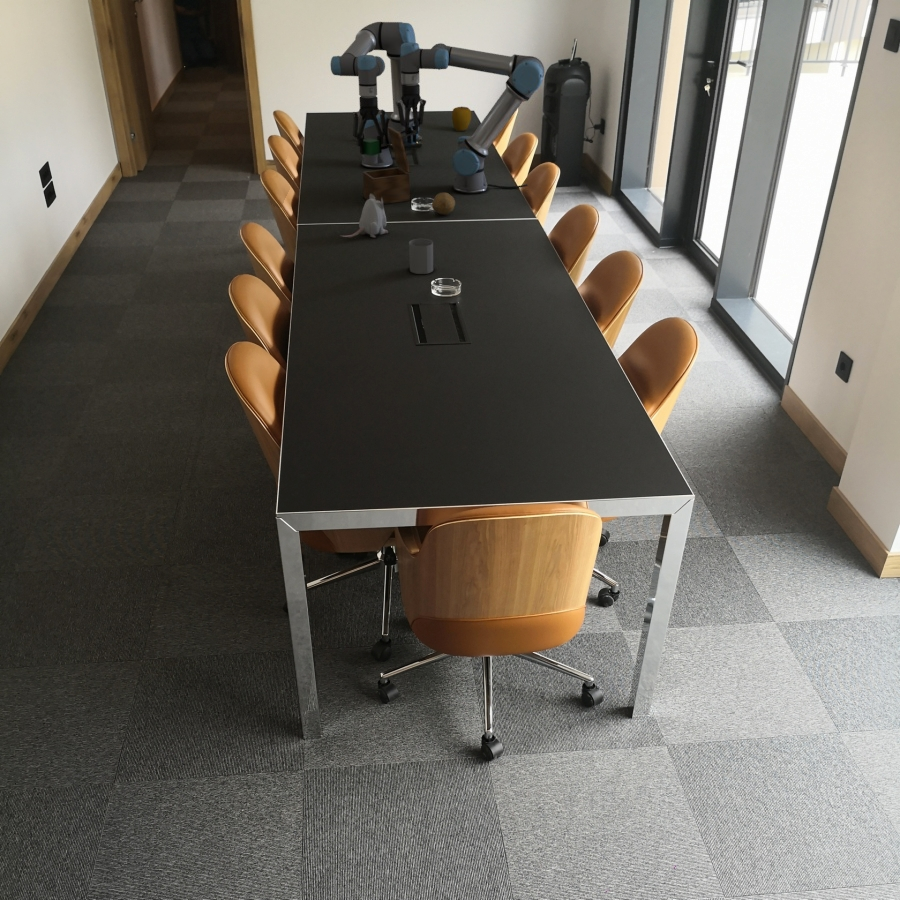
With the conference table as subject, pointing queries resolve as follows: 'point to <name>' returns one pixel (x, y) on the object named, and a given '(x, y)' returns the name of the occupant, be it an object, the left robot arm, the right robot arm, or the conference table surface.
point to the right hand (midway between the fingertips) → (412, 142)
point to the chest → (387, 185)
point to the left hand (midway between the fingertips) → (370, 153)
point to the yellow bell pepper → (461, 118)
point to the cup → (421, 256)
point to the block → (371, 147)
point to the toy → (372, 218)
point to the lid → (400, 148)
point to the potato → (443, 203)
